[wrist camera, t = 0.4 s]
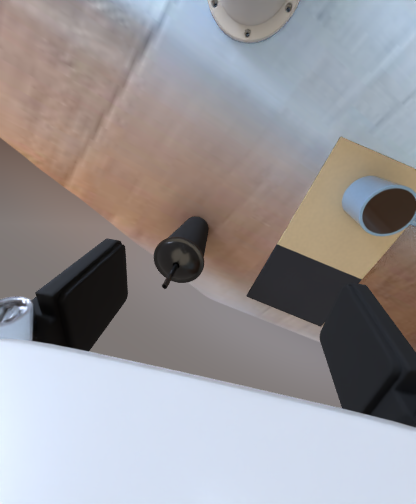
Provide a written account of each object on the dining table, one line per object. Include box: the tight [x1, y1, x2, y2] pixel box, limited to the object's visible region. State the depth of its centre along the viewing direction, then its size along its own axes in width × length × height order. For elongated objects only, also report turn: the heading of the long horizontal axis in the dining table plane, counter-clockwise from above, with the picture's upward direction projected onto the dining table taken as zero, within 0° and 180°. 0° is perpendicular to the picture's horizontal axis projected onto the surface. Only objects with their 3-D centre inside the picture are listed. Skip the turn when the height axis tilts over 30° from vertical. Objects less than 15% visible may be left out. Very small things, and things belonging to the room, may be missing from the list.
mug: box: [342, 176, 416, 236], centre depth 37 cm, size 10×7×8 cm
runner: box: [247, 137, 416, 326], centre depth 45 cm, size 34×18×1 cm, turn 159°
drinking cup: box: [154, 217, 208, 289], centre depth 39 cm, size 8×8×20 cm
